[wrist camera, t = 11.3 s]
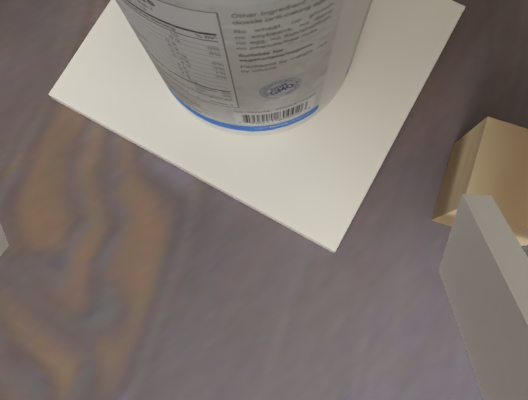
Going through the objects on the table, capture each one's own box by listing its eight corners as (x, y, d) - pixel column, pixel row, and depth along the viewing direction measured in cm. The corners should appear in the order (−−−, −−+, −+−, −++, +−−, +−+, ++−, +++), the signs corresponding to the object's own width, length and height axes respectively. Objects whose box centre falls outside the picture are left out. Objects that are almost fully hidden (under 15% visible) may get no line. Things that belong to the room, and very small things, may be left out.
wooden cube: (430, 220, 23) (462, 206, 19) (453, 141, 24) (488, 113, 20) (512, 247, 23) (561, 239, 19) (533, 167, 24) (585, 143, 20)
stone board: (55, 100, 25) (48, 94, 24) (194, -111, 27) (191, -123, 26) (333, 252, 23) (335, 251, 22) (459, 15, 25) (465, 6, 24)
